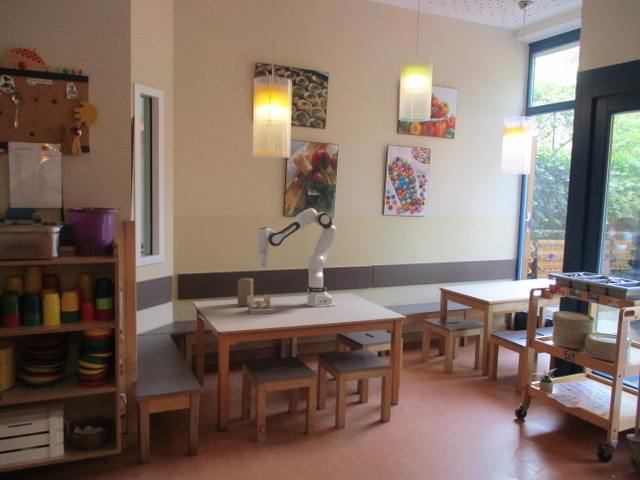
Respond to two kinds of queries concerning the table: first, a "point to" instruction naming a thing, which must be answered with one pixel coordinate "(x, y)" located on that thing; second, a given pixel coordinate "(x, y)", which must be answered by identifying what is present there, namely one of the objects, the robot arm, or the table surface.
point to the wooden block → (244, 290)
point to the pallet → (258, 304)
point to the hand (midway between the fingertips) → (263, 266)
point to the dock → (261, 310)
